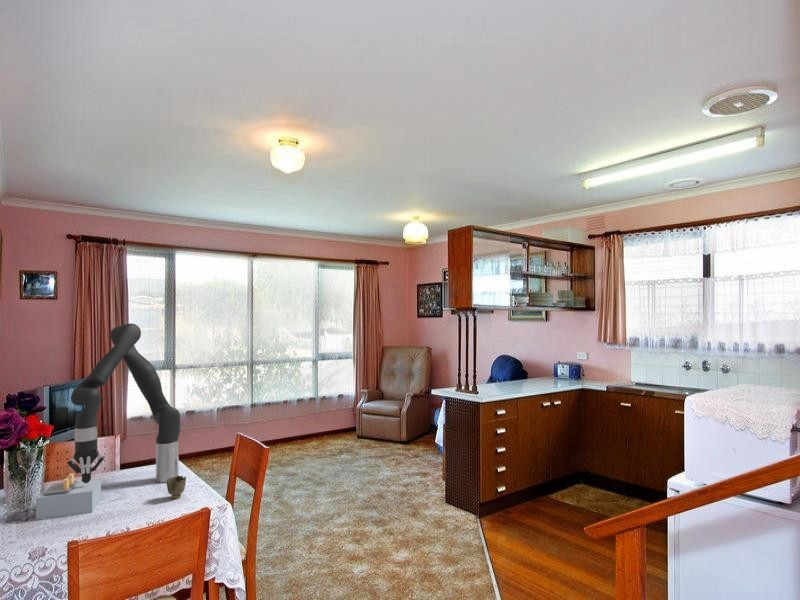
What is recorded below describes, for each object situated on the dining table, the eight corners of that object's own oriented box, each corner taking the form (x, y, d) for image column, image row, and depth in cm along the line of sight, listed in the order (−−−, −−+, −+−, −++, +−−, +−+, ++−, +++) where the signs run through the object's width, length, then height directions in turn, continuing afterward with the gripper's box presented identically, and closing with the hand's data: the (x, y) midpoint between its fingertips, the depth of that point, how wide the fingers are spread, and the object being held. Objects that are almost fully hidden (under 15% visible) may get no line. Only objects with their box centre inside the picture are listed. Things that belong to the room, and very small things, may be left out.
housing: (100, 499, 198) (101, 479, 198) (92, 512, 185) (92, 491, 185) (48, 506, 191) (48, 485, 192) (35, 519, 178) (36, 498, 179)
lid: (77, 482, 194) (77, 471, 194) (68, 492, 183) (68, 481, 183) (53, 485, 191) (54, 474, 192) (43, 495, 180) (43, 483, 180)
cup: (162, 499, 197) (162, 479, 197) (178, 493, 203) (178, 474, 204) (174, 502, 193) (174, 482, 194) (190, 496, 200) (190, 476, 200)
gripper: (107, 434, 197) (107, 477, 196) (69, 438, 192) (69, 481, 192) (103, 438, 190) (103, 483, 189) (63, 442, 185) (63, 488, 185)
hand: (86, 482), depth 190 cm, fingers closed
